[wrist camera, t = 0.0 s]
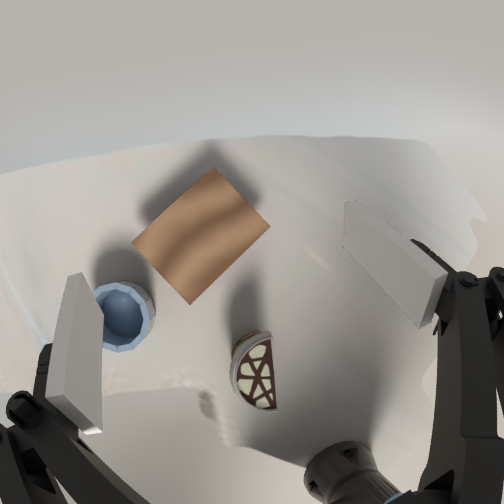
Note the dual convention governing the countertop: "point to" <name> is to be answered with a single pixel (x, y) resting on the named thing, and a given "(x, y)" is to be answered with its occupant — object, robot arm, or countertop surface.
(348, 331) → the countertop surface
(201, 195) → the walnut board
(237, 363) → the food container
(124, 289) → the faceted hollow tube
